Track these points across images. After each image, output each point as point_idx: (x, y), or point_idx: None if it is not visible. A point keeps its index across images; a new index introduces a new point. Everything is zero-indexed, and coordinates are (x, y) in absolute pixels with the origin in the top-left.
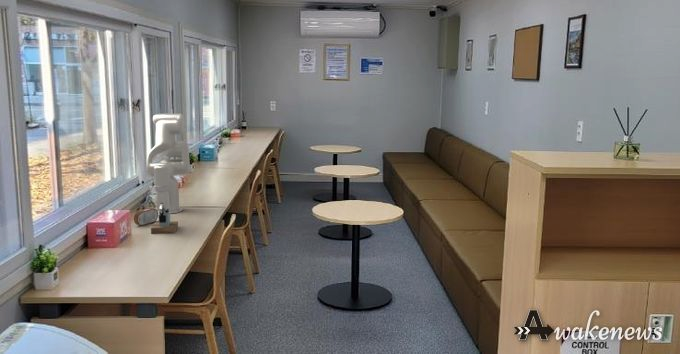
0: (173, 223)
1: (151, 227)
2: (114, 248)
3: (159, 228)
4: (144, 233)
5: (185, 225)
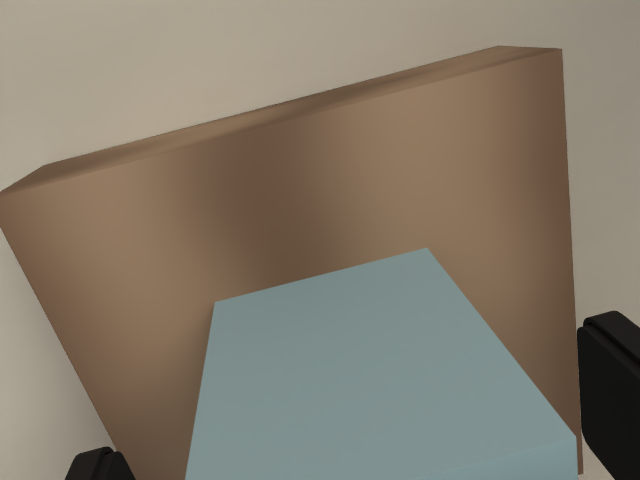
0: None
1: (51, 189)
2: None
3: (79, 366)
4: (22, 4)
5: (596, 462)
